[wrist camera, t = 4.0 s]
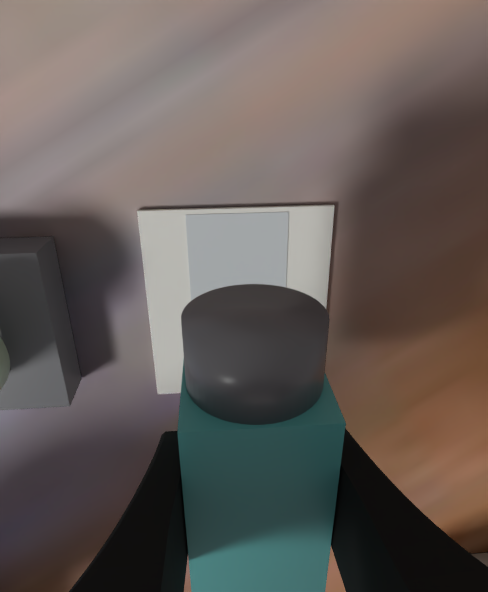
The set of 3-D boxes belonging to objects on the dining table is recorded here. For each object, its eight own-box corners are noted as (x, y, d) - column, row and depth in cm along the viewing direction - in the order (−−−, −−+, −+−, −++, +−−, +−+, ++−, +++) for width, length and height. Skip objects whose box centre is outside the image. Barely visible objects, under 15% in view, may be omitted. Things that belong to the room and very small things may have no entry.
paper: (319, 382, 22) (320, 385, 22) (158, 391, 21) (157, 394, 21) (333, 204, 18) (334, 206, 18) (137, 209, 18) (137, 211, 17)
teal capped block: (297, 513, 16) (320, 623, 13) (197, 520, 16) (195, 634, 12) (314, 280, 12) (354, 352, 9) (180, 285, 12) (171, 361, 8)
